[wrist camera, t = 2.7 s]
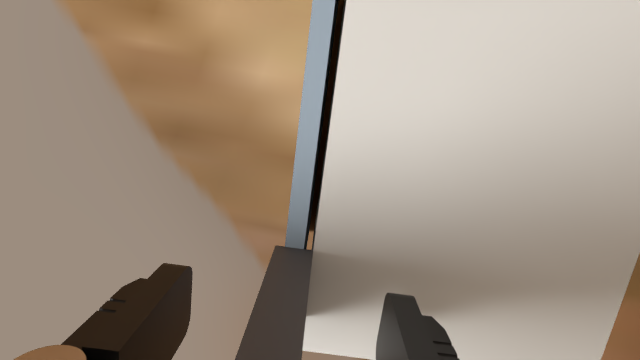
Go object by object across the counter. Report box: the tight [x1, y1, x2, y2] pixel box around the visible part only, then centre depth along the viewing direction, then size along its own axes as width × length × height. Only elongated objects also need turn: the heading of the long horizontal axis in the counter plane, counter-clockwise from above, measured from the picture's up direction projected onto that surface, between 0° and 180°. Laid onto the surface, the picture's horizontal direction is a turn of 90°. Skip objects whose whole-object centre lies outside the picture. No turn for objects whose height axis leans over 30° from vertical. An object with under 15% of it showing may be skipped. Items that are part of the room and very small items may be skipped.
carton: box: [302, 0, 640, 360], centre depth 16 cm, size 14×10×10 cm
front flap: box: [235, 0, 339, 360], centre depth 13 cm, size 14×1×16 cm, turn 173°
